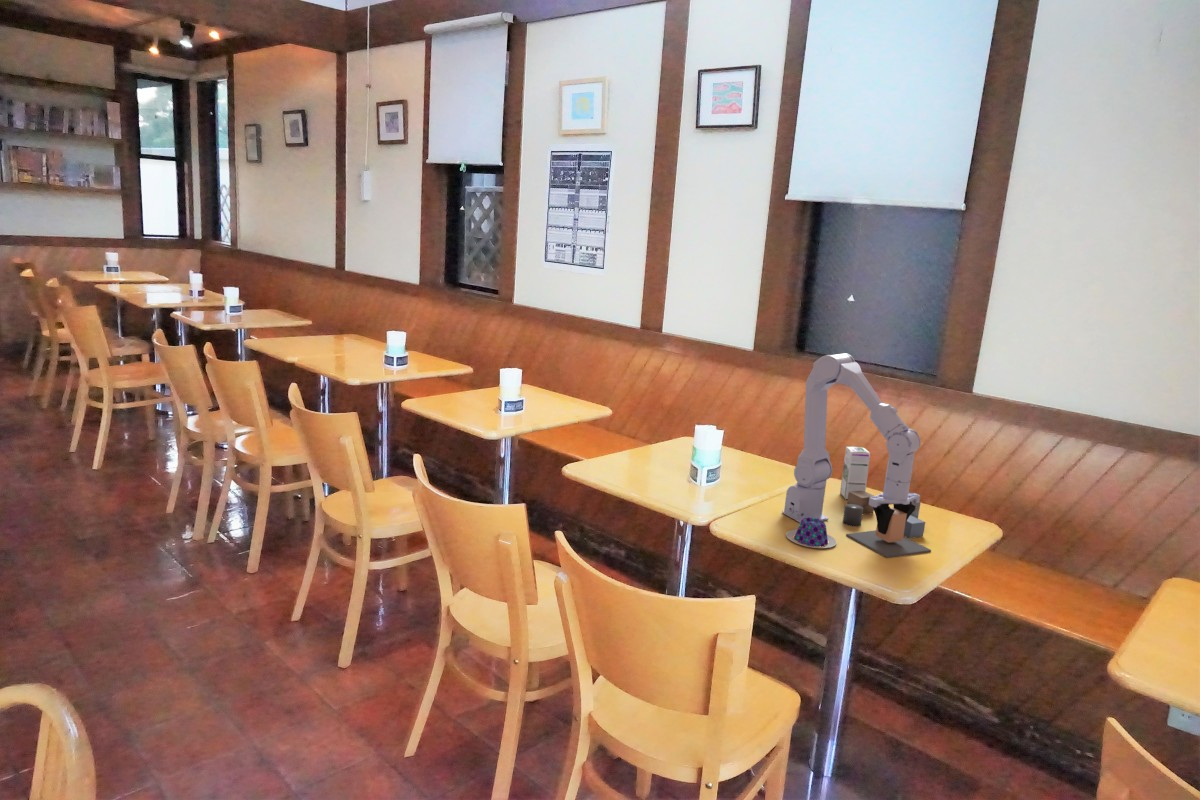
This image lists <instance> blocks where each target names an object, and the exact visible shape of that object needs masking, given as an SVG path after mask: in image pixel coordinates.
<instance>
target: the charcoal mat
mask: <svg viewBox="0 0 1200 800" xmlns="http://www.w3.org/2000/svg"><path fill="white" fill-rule="evenodd" d="M875 534H876V529H875V530H869V531H868V530H867V531H859V532H852V533H851V532H850V533H846V534H845V537H848V538H849V539H851V540H853V541H855V542H857V543H858V544H861V545H862V546H864V547H866V548H867V549H869V548H870V550H871V551H874V552H876V553H877V554H879V555H880V556H882V555H883V557H884V558H886V559H890V558H897V557H903V556H904V555H905V556H911V554H912V555H918V553H919V554H924V553H925V552H926V553H931V552H932V549H930V548H928V547H926V546H924V545H922V544H921V543H918V542H916V541H914V540H912V539H911V538H908V537H906V536H904V535H903V541H897V542H889V543H888V542H887V541H885V540H883V539H881V538H879V537H877V536H875Z"/></svg>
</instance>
